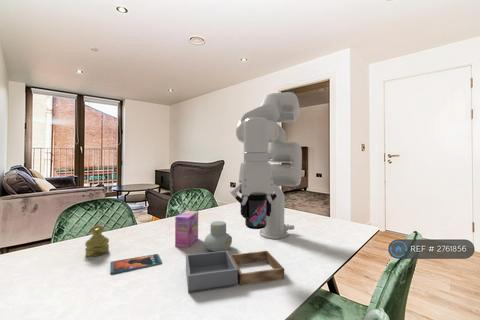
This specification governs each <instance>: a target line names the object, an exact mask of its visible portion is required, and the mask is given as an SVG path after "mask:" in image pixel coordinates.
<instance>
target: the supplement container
mask: <svg viewBox="0 0 480 320" xmlns="http://www.w3.org/2000/svg"><path fill="white" fill-rule="evenodd" d="M246 205H247V218H244V219H245V222H244V225H245V226H246V228H248V229H251V230H261V229H263V228H265V227H266V225H267V194H251V195H250V196H248V199H247V201H246Z"/></svg>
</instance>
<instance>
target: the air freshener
mask: <svg viewBox="0 0 480 320" xmlns="http://www.w3.org/2000/svg"><path fill="white" fill-rule="evenodd" d="M232 243H233V238H232V236H231V235H230V233H227V223H226V222H225V221H221V220H220V221H219V220H216V221H215V220H214V221H212V222H210V232H209V233H208V234H207V235H206V236H205V238H204V241H203V244H204V247H205V249H207V250H208V251H209V252H219V251H228V249H229V250H230V248H231V245H232Z"/></svg>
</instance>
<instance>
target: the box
mask: <svg viewBox="0 0 480 320" xmlns="http://www.w3.org/2000/svg"><path fill="white" fill-rule="evenodd" d="M174 221H175V225H174V228H175V230H174V232H175V233H174V246H175V247H178V248H185V249H186V248H189V247H190V246H191V245H193V244H194V243H195V241H197V240H198V239H199V211H196V210H185V211H184V212H181V213H180V214H178V215H176V216H175V220H174Z"/></svg>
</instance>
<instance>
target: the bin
mask: <svg viewBox="0 0 480 320" xmlns="http://www.w3.org/2000/svg"><path fill="white" fill-rule="evenodd" d="M230 255H231V254H230V253H229V251H228V250H226V251H219V252H213V251H209V252H200V253H191V254H185V275H186V283H187V285H186V286H187V293H188V294H193V293H197V292H205V291H206V292H207V291H212V290H218V289H226V288H231V287H238V285H239V284H238V283H239V282H238V269H237V268H236V266H235V264H234V262H233V260H232V258H231V257H230Z"/></svg>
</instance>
